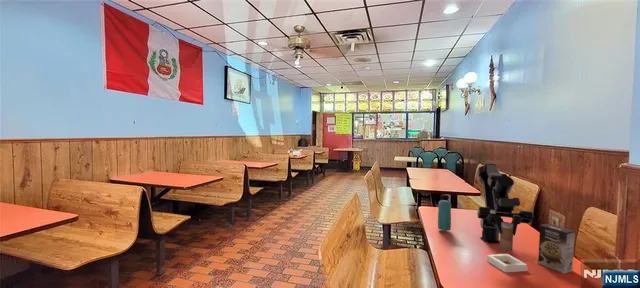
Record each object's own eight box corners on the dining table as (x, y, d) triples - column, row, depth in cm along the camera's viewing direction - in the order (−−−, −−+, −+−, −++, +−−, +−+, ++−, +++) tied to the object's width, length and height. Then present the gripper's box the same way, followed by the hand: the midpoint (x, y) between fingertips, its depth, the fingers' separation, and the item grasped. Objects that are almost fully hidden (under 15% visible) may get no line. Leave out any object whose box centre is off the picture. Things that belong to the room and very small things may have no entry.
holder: (507, 259, 114) (507, 253, 114) (527, 271, 105) (527, 264, 104) (486, 260, 113) (486, 254, 113) (504, 272, 103) (505, 266, 103)
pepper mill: (503, 246, 111) (504, 221, 111) (514, 250, 108) (515, 224, 107) (497, 248, 109) (498, 222, 109) (508, 252, 106) (509, 226, 105)
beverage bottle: (452, 234, 142) (453, 196, 141) (438, 233, 143) (439, 195, 142) (448, 229, 148) (450, 193, 147) (436, 228, 150) (437, 193, 149)
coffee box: (537, 263, 111) (538, 224, 110) (546, 260, 113) (548, 222, 112) (564, 274, 102) (566, 232, 102) (573, 270, 105) (575, 230, 104)
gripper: (479, 187, 114) (483, 221, 105) (533, 191, 107) (543, 228, 98) (475, 201, 122) (479, 234, 112) (525, 205, 115) (534, 241, 105)
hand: (507, 234), depth 107 cm, fingers closed on pepper mill, 4 cm apart
